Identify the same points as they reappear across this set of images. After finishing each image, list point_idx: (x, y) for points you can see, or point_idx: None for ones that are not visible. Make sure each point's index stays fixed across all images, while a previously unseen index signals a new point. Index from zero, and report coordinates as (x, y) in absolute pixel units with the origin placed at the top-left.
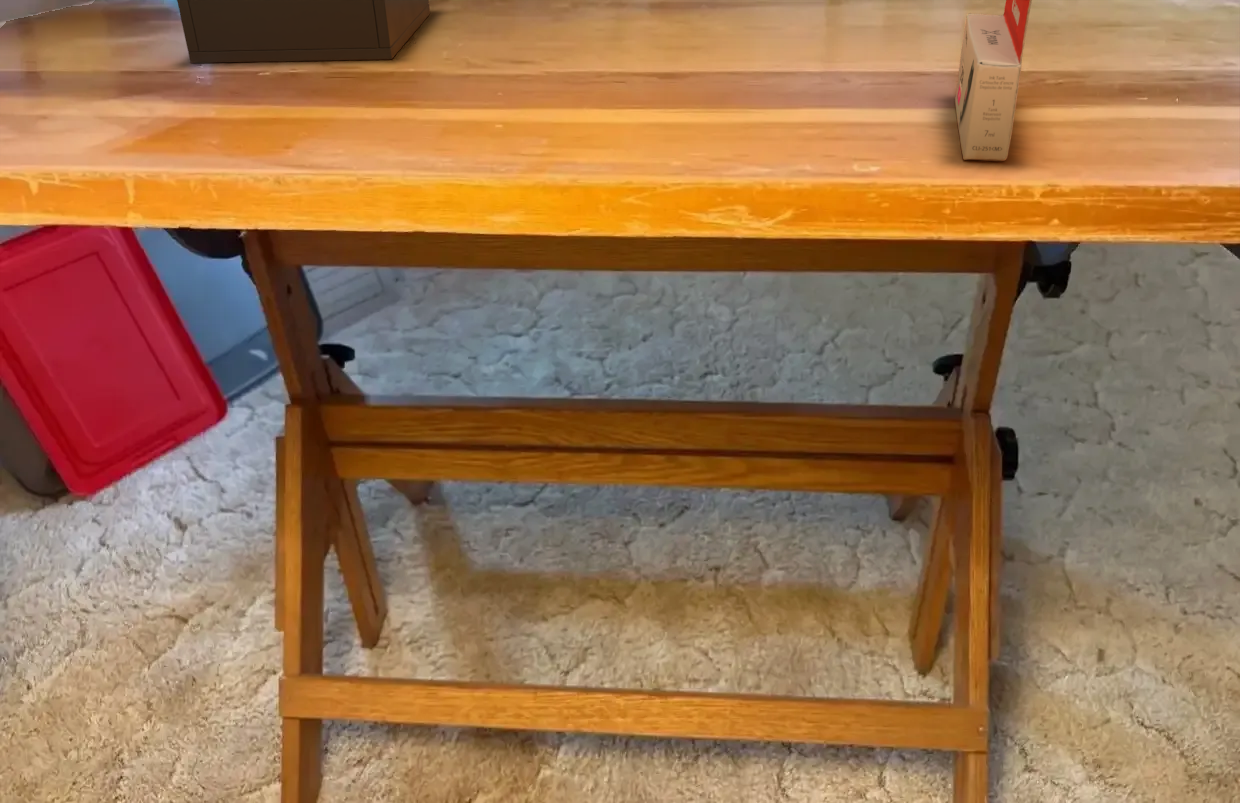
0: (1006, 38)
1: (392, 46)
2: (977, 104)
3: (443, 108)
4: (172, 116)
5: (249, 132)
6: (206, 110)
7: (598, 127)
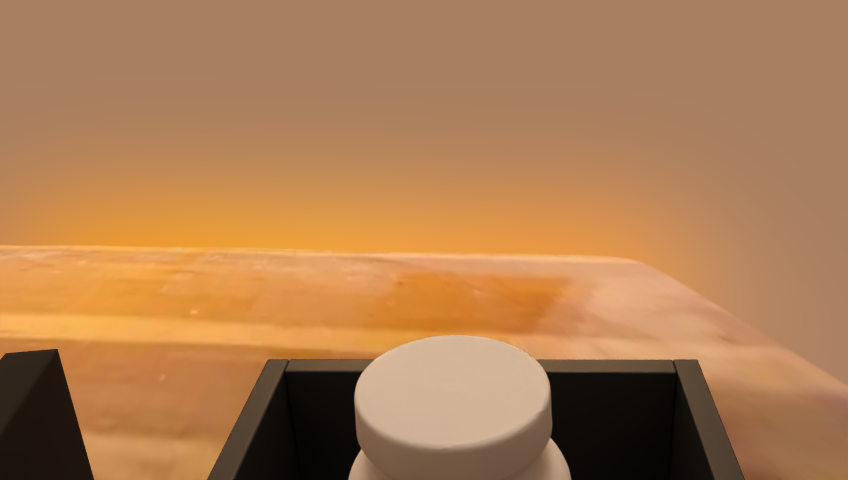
0: None
1: None
2: None
3: (240, 346)
4: (560, 338)
5: (449, 306)
6: (527, 350)
7: (101, 308)
